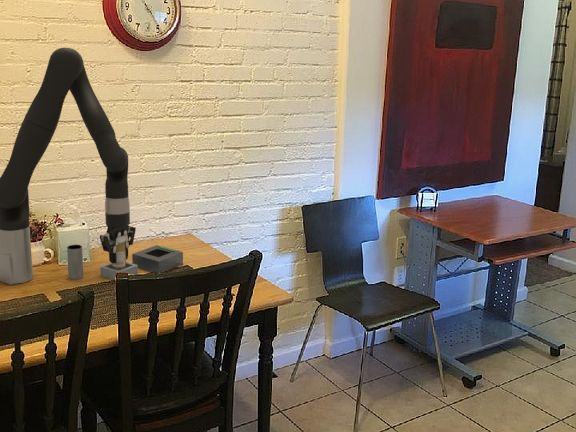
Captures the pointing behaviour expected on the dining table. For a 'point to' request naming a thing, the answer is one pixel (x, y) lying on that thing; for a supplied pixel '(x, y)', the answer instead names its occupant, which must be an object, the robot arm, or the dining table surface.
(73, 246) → the gray cylinder
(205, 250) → the dining table surface
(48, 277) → the dining table surface
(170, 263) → the port block
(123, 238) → the sprinkles bottle
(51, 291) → the dining table surface
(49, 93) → the robot arm
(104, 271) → the blue-grey square tray
